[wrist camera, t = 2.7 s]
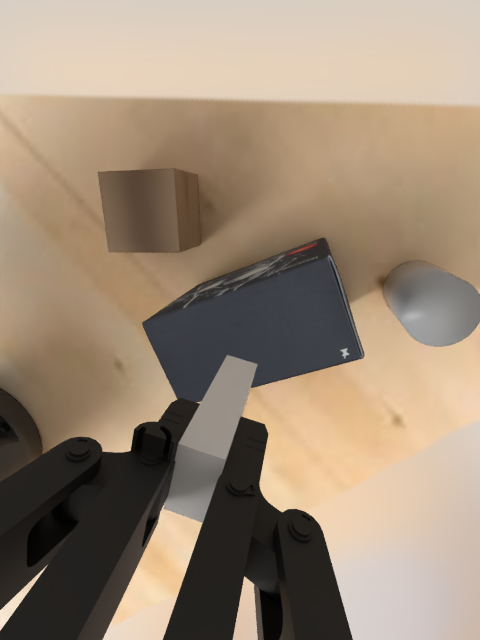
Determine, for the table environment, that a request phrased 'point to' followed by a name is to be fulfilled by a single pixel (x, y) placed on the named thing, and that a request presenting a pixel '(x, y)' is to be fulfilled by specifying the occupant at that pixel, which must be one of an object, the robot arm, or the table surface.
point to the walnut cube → (150, 210)
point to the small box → (258, 322)
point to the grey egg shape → (432, 303)
